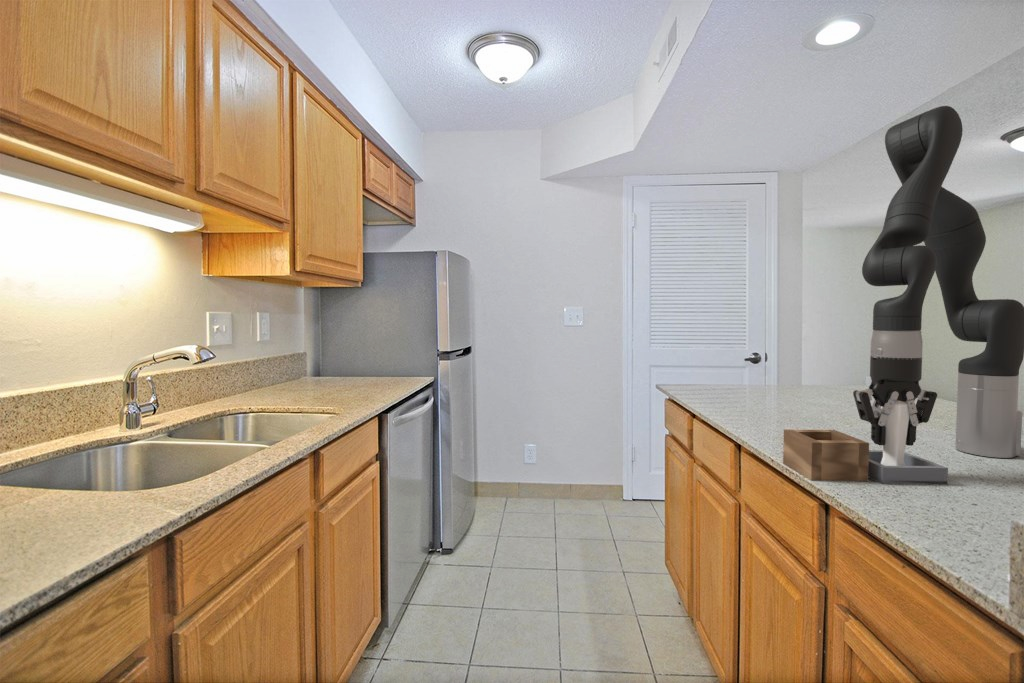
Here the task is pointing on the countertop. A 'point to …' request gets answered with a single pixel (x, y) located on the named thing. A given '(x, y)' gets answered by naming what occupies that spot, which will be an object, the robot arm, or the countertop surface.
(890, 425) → the perfume bottle
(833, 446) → the wooden cubby box
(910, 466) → the tray
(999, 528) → the countertop surface
